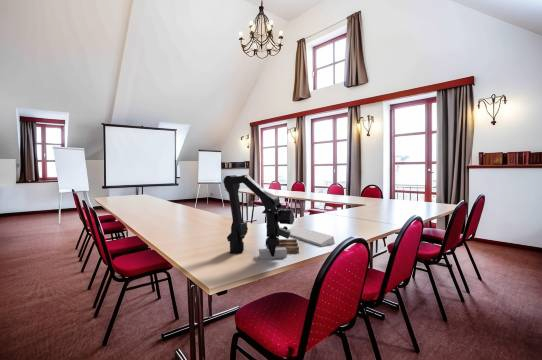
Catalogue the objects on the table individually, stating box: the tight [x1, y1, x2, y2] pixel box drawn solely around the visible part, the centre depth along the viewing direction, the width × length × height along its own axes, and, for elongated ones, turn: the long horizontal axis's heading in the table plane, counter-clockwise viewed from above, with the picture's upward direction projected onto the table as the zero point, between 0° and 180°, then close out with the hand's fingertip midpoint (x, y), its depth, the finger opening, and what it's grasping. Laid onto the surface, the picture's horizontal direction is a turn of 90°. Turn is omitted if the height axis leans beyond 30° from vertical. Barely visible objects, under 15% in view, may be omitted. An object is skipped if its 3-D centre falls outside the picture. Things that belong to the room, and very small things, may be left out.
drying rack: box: [266, 238, 300, 254], centre depth 145 cm, size 16×16×3 cm
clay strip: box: [258, 247, 288, 260], centre depth 131 cm, size 13×4×4 cm, turn 102°
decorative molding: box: [288, 225, 336, 247], centre depth 164 cm, size 34×5×10 cm
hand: (273, 254), depth 131 cm, fingers closed on clay strip, 4 cm apart
